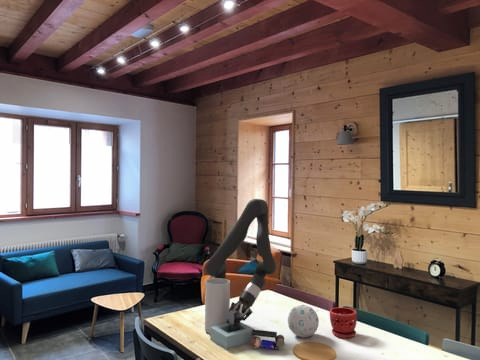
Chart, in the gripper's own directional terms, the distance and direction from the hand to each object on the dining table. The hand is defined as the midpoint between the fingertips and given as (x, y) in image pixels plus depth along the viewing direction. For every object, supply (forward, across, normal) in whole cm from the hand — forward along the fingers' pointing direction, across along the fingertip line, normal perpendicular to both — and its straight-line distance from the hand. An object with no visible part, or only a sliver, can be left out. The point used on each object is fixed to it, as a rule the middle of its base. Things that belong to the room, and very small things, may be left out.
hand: (231, 324), depth 179 cm
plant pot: (-28, +29, +40) cm, 57 cm away
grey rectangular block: (+2, 0, +5) cm, 5 cm away
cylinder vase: (+4, -15, +8) cm, 17 cm away
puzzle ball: (-16, +18, +28) cm, 37 cm away
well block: (+5, 0, +6) cm, 8 cm away
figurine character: (0, +16, +12) cm, 20 cm away
